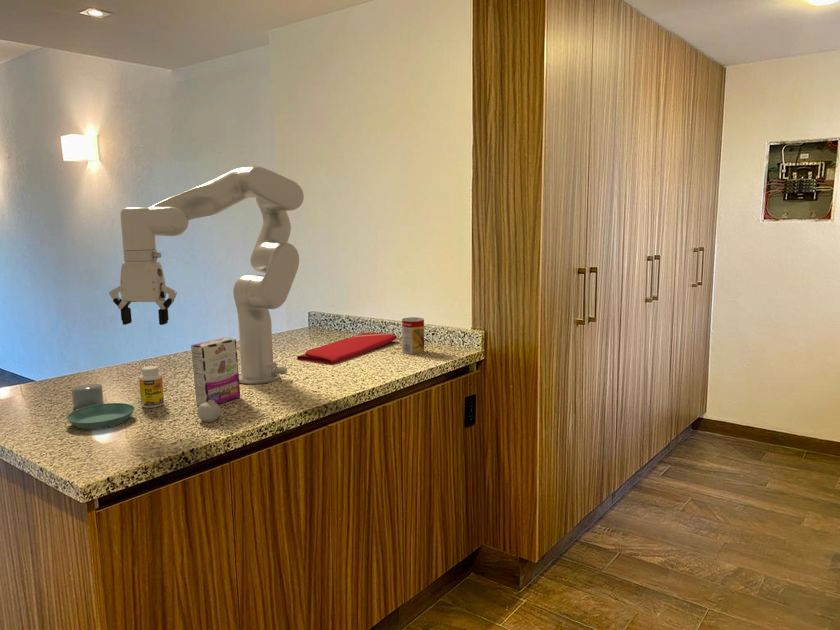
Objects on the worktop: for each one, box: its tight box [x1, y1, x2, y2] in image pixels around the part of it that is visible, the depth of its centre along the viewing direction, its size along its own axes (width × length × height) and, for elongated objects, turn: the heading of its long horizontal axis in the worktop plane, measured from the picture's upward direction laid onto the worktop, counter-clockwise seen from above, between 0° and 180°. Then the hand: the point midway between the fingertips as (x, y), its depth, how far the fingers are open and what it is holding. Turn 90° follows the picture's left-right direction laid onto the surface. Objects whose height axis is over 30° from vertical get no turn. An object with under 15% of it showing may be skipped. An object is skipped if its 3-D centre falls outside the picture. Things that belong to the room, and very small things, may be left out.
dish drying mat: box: [296, 332, 398, 366], centre depth 225 cm, size 16×41×4 cm, turn 150°
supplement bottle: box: [138, 365, 165, 409], centre depth 161 cm, size 6×6×10 cm
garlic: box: [196, 400, 222, 423], centre depth 149 cm, size 6×5×5 cm
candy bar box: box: [190, 337, 241, 407], centre depth 163 cm, size 11×5×16 cm, turn 148°
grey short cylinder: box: [71, 383, 105, 410], centre depth 162 cm, size 7×7×5 cm
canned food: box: [401, 316, 425, 356], centre depth 220 cm, size 8×8×12 cm
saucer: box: [66, 402, 136, 430], centre depth 149 cm, size 15×15×3 cm
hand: (145, 323), depth 158 cm, fingers open, 9 cm apart
